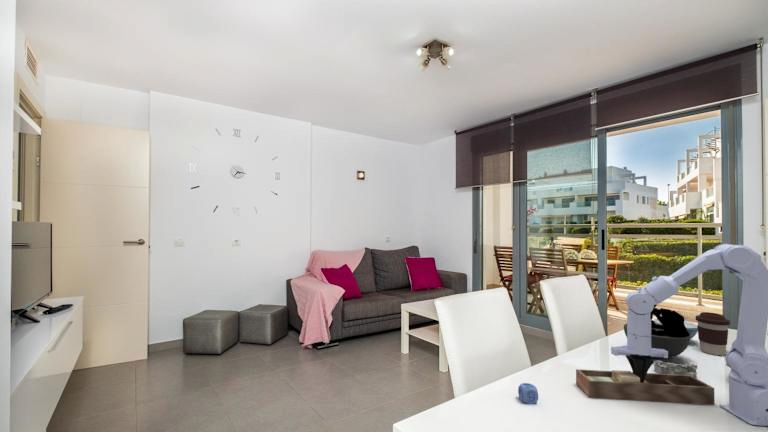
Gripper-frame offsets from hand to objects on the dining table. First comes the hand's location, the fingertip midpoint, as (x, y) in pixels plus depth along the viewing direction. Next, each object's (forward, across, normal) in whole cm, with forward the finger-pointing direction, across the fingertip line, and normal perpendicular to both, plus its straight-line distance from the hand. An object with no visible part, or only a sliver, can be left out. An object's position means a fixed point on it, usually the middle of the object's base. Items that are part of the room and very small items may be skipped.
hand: (639, 381), depth 103 cm
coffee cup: (+4, -51, -41) cm, 66 cm away
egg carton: (+4, -21, -16) cm, 27 cm away
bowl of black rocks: (+4, -25, -33) cm, 42 cm away
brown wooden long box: (+4, -1, 0) cm, 4 cm away
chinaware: (+4, -47, -55) cm, 73 cm away
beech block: (+1, +4, 0) cm, 4 cm away
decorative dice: (+4, +34, +8) cm, 35 cm away
